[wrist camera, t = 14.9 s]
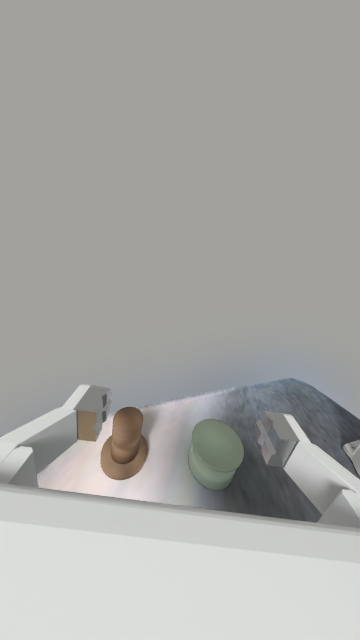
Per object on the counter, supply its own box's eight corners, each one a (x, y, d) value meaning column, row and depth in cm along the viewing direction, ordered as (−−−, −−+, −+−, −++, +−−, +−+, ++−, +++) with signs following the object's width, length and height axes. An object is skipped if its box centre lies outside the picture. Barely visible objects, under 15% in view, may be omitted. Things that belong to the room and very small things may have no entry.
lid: (139, 428, 40) (143, 395, 37) (152, 466, 33) (159, 431, 30) (98, 442, 35) (99, 406, 32) (104, 489, 29) (106, 450, 26)
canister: (213, 433, 42) (220, 413, 40) (245, 477, 34) (255, 455, 32) (178, 448, 37) (183, 427, 35) (205, 504, 29) (214, 481, 27)
